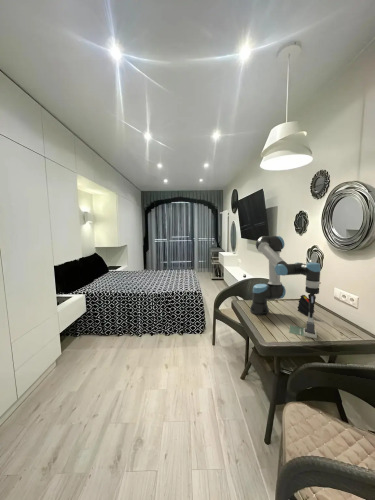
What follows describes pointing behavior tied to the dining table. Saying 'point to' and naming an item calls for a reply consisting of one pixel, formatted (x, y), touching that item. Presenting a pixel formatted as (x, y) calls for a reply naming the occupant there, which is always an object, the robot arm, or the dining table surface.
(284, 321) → the dining table surface
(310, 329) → the plug
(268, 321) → the dining table surface
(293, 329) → the board
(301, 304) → the black ridged module
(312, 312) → the robot arm
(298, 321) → the dining table surface
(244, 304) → the dining table surface
